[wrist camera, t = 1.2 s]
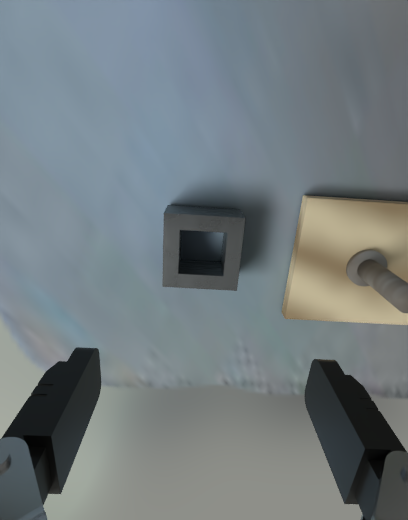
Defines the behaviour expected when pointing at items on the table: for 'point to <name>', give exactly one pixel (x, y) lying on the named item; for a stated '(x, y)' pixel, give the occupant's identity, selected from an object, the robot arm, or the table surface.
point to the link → (202, 271)
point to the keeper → (349, 262)
